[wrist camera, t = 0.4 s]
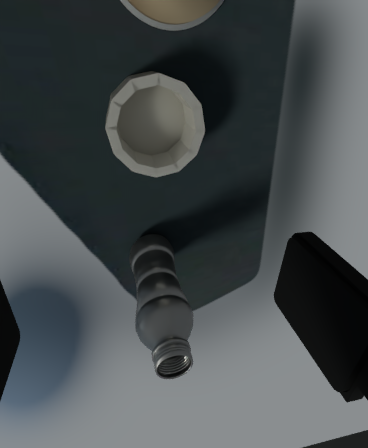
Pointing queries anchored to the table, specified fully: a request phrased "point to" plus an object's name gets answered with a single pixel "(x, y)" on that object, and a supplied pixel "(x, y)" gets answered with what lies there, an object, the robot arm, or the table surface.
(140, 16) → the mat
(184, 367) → the plastic bottle
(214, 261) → the table surface
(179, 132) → the bowl
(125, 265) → the table surface
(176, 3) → the lid
